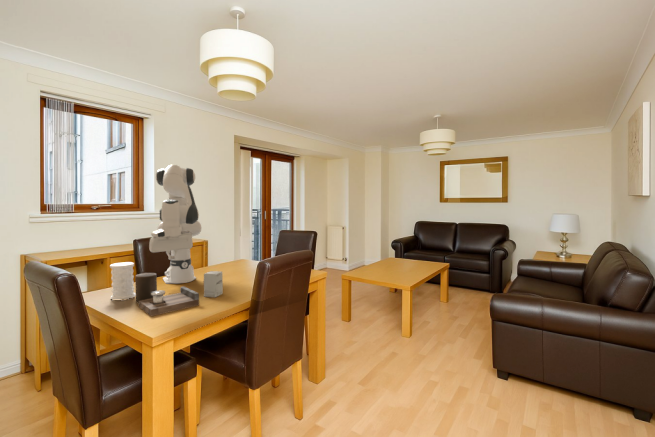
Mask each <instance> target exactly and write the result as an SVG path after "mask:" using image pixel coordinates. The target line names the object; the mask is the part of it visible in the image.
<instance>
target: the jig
mask: <svg viewBox="0 0 655 437" xmlns="http://www.w3.org/2000/svg"><path fill="white" fill-rule="evenodd" d="M163 301H164V303H161V304H156V305H153V298H151V299H146V300H141V301H139V303H138V308H139V309H141V310H142V311H143V310H144V312H145V313H146V314H147V313H148V314H147V315H149V316H150V317H154V316H158V315H163V314H166V313H171V312H175V311H176V312H177V311H179V310H184V309H188V308H193V307H197V306H199V305H200V292H197V291H195V290H192V289H191V288H188V287H187V286H180V292H177V293H172V294H167V295H163Z"/></svg>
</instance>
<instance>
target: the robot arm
mask: <svg viewBox="0 0 655 437" xmlns="http://www.w3.org/2000/svg"><path fill="white" fill-rule="evenodd" d="M155 180H156V182H157V184H158V185H159V186H163V189H164V191H165V192H166V193H168V198H167V199H165V200H163V201H162V204H161V208H160V209H159V220H160V221H161V222H160V223H159V224H158V226H157V229H156V230H153V231H152V232H150V235H151V238H149V243H148V244H149V245H148V248H149V251H150V252H151V253H153V254H154V253H160V252H162V253H163V252H165V254H166V255H167V256H168V259H167V260H170V263H169V267H168V268H167V270H166V271H164V277H162V280H163V281H164V283H165V284H184V283H191V282H192V281H194V280H196V279H197V277H196V276H195V273H194V272H195V271H194V270H195V269H194V266H193V265H192V259H191V249H192V248H193V237H195V236H199V234H201V232H202V223H200V221H199V216H200V213H199V210H198V207H197V205H196V201H195V197H194V194H193V191H192V188H191V186H192V185H193V184H194V183H195V180H196V174H195V171H194V170H193V169H192V168H189V167H181V166H180V165H178V164H170V165H168V166H167V167H166V168H164V167H163V168H160V169H157V170H156V173H155Z"/></svg>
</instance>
